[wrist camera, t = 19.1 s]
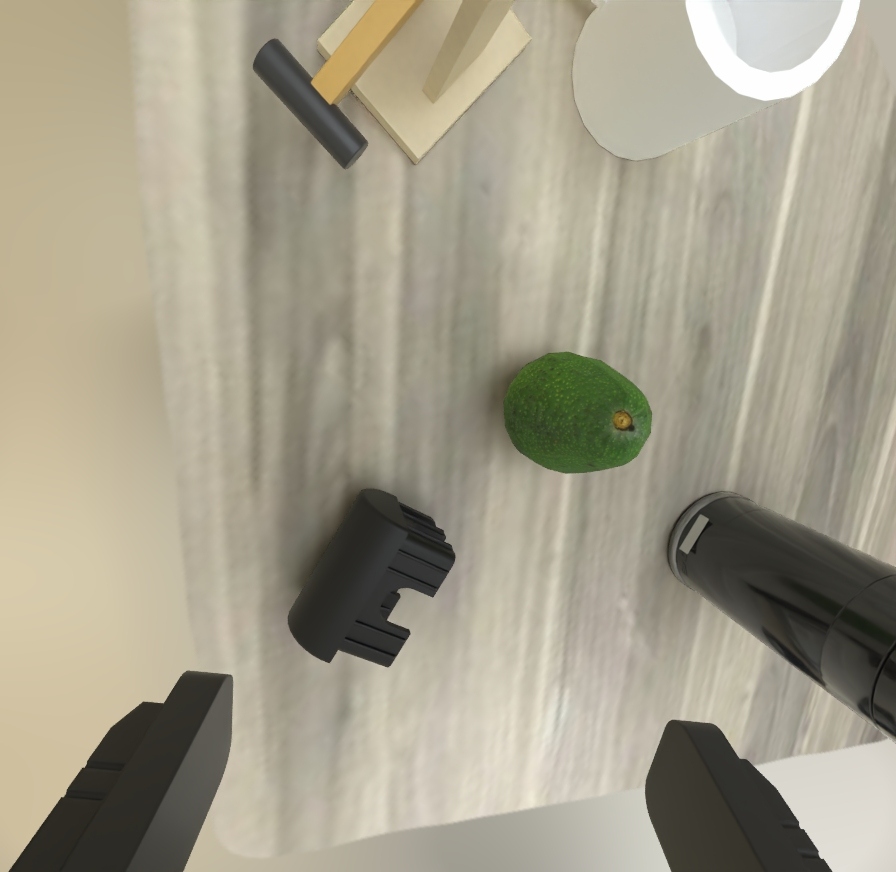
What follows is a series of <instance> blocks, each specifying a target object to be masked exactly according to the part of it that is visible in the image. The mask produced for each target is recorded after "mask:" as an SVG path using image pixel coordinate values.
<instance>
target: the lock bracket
mask: <svg viewBox="0 0 896 872" xmlns="http://www.w3.org/2000/svg"><path fill="white" fill-rule="evenodd" d="M374 1H375V0H354V1H353V2H352V3H351V4H350V5H349V6H348V7H347V8H346V10H345V11H344V12H343V13H342V14H341V15H340V16H339V17H338V18H337V19H336V20H335V21H334V23H333V24H332V25H331V26H330V27H329V28H328V29H327V30H326V31H325V32H324V33H323V34H322V35H321V37H320V38H319V39H318V51H319V52H320V54H321V55H322V56H323V57H324V58H325V59H326V61H327V60H328V59H329V58H330V57H331V55H332V54H333V53H334V52H335V50H336V49H337V48H338V47H339V45H340V44H341V43H342V42H343V40H344V39H345V38H346V37H347V35H348V34H349V33H350V32H351V30H352V29H353V28H354V27H355V25H356V24H357V23H358V22H359V20H360V19H361V18H362V16H363V15H364V14H365V13H366V11H367V10H368V9H369V8H370V6H371V5H372V4H373V3H374ZM514 1H515V0H423V2H422V3H421V4H420V5H419V7H418V8H417V9H416V10H415V11H414V13H413V14H412V15H411V16H410V17H409V19H408V20H407V21H406V22H405V24H404V25H403V26H402V27H401V28H400V30H399V31H398V32H397V33H396V34H395V36H394V37H393V38H392V39H391V41H390V42H389V43H388V44H387V45H386V47H385V48H384V49H383V50H382V51H381V53H380V54H379V55H378V56H377V57H376V59H375V60H374V61H373V62H372V64H371V65H370V66H369V67H368V68H367V70H366V71H365V72H364V73H363V74H362V76H361V77H360V78H359V79H358V81H357V82H356V83H355V84H354V85H353V87H352V88H351V90H352V91H353V92H354V93H355V95H356V96H357V97H358V98H359V99H360V100H361V102H362V103H363V104H364V105H365V106H366V107H367V109H368V110H369V111H370V112H371V113H372V114H373V116H374V117H375V118H376V119H377V120H378V121H379V123H380V124H381V125H382V126H383V127H384V128H385V130H386V131H387V132H388V133H389V134H390V136H391V137H392V138H393V139H394V140H395V141H396V143H397V144H398V145H399V146H400V147H401V148H402V150H403V151H404V152H405V153H406V154H407V155H408V157H409V158H410V159H411V160H412V161H413V162H414V164H417V163H418V162H419V161H420V160H421V159H422V158H423V157H424V156H425V155H426V153H427V152H428V151H429V150H430V149H431V148H432V147H433V146H434V145H435V144H436V143H437V142H438V141H439V140H440V138H441V137H442V136H443V135H444V134H445V133H446V132H447V131H448V130H449V129H450V128H451V127H452V126H453V125H454V123H455V122H456V121H457V120H458V119H459V118H460V117H461V116H462V115H463V114H464V113H465V112H466V111H467V110H468V108H469V107H470V106H471V105H472V104H473V103H474V102H475V101H476V100H477V99H478V98H479V97H480V96H481V95H482V94H483V92H484V91H485V90H486V89H487V88H488V87H489V86H490V85H491V84H492V83H493V82H494V81H495V80H496V79H497V77H498V76H499V75H500V74H501V73H502V72H503V71H504V70H505V69H506V68H507V67H508V66H509V65H510V64H511V62H512V61H513V60H514V59H515V58H516V57H517V56H518V55H519V54H520V53H521V52H522V51H523V50H524V49H525V47H526V46H527V45H528V43H529V42H530V41H531V37H530V36H529V34H528V33H527V31H526V30H525V29H524V27H523V26H522V24H521V23H520V21H519V20H518V18H517V17H516V15H515V14H514V13H513V11H512V10H511V6H512V4H513V3H514Z"/></svg>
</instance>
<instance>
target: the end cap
mask: <svg viewBox="0 0 896 872" xmlns="http://www.w3.org/2000/svg"><path fill="white" fill-rule="evenodd" d="M445 539H446V536H445V534H444V531H443V530H442V529H440V528H438V527H436V525H435V522H434V520H433V519H432V518H431V517H429V516H427V515H424V514H422V513H420V512H418V511H416V510H414V509H412V508H410V507H408V506H406V505H404V504H402V503H400V502H398V500H397V497H396V496H394V495H391V494H389V493H386V492H384V491H381V490H377V489H364V490H362V491H361V492H360V493H359V495H358V496H357V498H356V500H355V501H354V503H353V505H352V507H351V508H350V510H349V512H348V513H347V515H346V517H345V518H344V520H343V522H342V523H341V525H340V527H339V528H338V530H337V532H336V534H335V535H334V537H333V539H332V540H331V542H330V544H329V545H328V547H327V549H326V550H325V552H324V554H323V555H322V557H321V559H320V561H319V562H318V564H317V566H316V567H315V569H314V571H313V572H312V574H311V576H310V577H309V579H308V581H307V583H306V584H305V586H304V588H303V589H302V591H301V593H300V594H299V596H298V598H297V599H296V601H295V603H294V604H293V606H292V608H291V610H290V611H289V615H288V625H289V628H290V631H291V633H292V635H293V636H294V638H295V639H296V641H297V642H298V643H299V644H300V645H301V646H302V647H303V648H304V649H305V650H306V651H308V652H309V653H310V654H312V655H313V656H315V657H317V658H319V659H320V660H323V661H325V662H327V663H330V662H331V660H332V659H333V657H334V655H335V654H336V652H337V651H338V650H340V651H343V652H346V653H348V654H351V655H354V656H357V657H360V658H363V659H365V660H368V661H371V662H374V663H377V664H379V665H382V666H385V667H389V666H391V664H392V663H393V661H394V659H395V658H396V656H397V655H398V653H399V651H400V650H401V648H402V647H403V645H404V643H405V642H406V640H407V639H408V637H409V635H410V630H409V629H406V628H404V627H401V626H399V625H396V624H393V623H391V622H389V621H387V618H388V616H389V615H390V613H391V612H392V610H393V608H394V607H395V605H396V603H397V602H398V600H399V599H400V594H399V593H397V590H398V589H400V588H411V589H414V590H417V591H419V592H421V593H424V594H426V595H428V596H431V597H434V595H435V594H436V592H437V590H438V589H439V587H440V586H441V584H442V582H443V581H444V579H445V578H446V576H447V574H448V573H449V571H450V570H451V568H452V566H453V564H454V562H455V553H454V551H453V549H452V546H451V545H450V544H448V543H446V542H444V540H445Z"/></svg>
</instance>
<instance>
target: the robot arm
mask: <svg viewBox="0 0 896 872" xmlns="http://www.w3.org/2000/svg"><path fill="white" fill-rule="evenodd" d="M668 557H669V563H670V567H671V569H672V571H673V573H674V575H675V576H676V577H677V578H678V579H679V580H680V581H681V582H682V583H683V584H685V585H686V586H687V587H689V588H690V589H692V590H694V591H696V592H697V593H699V594H700V595H701V596H702V597H704V598H705V599H706V600H708V601H709V602H710V603H711V604H713V605H714V606H715V607H717V608H718V609H719V610H720V611H722V612H723V613H724V614H726V615H727V616H728V617H730V618H731V619H732V620H734V621H735V622H736V623H738V624H739V625H740V626H741V627H743V628H744V629H745V630H747V631H748V632H749V633H751V634H752V635H753V636H755V637H756V638H757V639H759V640H760V641H761V642H763V643H764V644H765V645H766V646H768V647H769V648H770V649H772V650H773V651H774V652H776V653H777V654H778V655H780V656H781V657H782V658H784V659H785V660H786V661H787V662H789V663H790V664H791V665H793V666H794V667H795V668H797V669H798V670H799V671H801V672H802V673H803V674H805V675H806V676H807V677H808V678H810V679H811V680H812V681H814V682H815V683H816V684H818V685H819V686H820V687H822V688H823V689H824V690H826V691H827V692H828V693H830V694H831V695H832V696H834V697H835V698H836V699H838V700H839V701H840V702H842V703H843V704H844V705H846V706H847V707H848V708H850V709H851V710H852V711H854V712H855V713H856V714H857V715H859V716H860V717H861V718H863V719H864V720H865V721H867V722H868V723H869V724H871V725H872V726H873V727H875V728H876V729H877V730H878V731H880V732H882V733H883V734H884V735H885V736H886V737H888V738H889V739H890V740H892V741H893V742H894V743H896V567H894V566H892V565H890V564H888V563H886V562H883V561H881V560H879V559H877V558H875V557H872V556H870V555H868V554H866V553H864V552H861V551H859V550H857V549H855V548H853V547H850V546H848V545H846V544H844V543H842V542H839V541H837V540H835V539H833V538H830V537H828V536H826V535H824V534H822V533H819V532H817V531H815V530H813V529H811V528H808V527H806V526H804V525H802V524H800V523H797V522H795V521H793V520H791V519H789V518H786V517H784V516H782V515H780V514H778V513H776V512H774V511H771V510H769V509H767V508H765V507H763V506H760V505H758V504H756V503H754V502H753V501H751V500H750V499H748V498H745V497H743V496H741V495H739V494H736V493H732V492H718V493H714V494H711V495H708V496H706V497H704V498H702V499H700V500H698V501H697V502H696V503H694V504H693V505H692V506H691V507H690V508H689V509H688V510H687V511H686V512H685V513H684V514H683V515H682V516H681V518H680V519H679V521H678V522H677V524H676V526H675V528H674V530H673V532H672V535H671V538H670V542H669V549H668ZM232 704H233V677H232V675H228V674H218V673H208V672H198V671H186V672H185V673H183V675H182V676H181V677H180V678H179V680H178V682H177V683H176V685H175V686H174V688H173V689H172V691H171V693H170V694H169V696H168V698H167V699H166V701H165V702H164V703H153V702H142V703H141V704H140V705H139V706H137V707H136V708H135V709H134V710H132V711H131V712H130V713H129V714H127V715H126V716H125V717H124V718H122V719H121V720H120V721H119V722H117V723H116V724H115V725H114V726H113V727H111V728H110V730H109V731H108V733H107V734H106V735H105V737H104V738H103V740H102V741H101V743H100V744H99V745H98V747H97V748H96V749H95V751H94V752H93V754H92V755H91V756H90V758H89V760H88V761H87V765H86V766H85V768H82V769H81V771H80V772H79V773H78V775H77V776H76V778H75V779H74V780H73V782H72V783H71V785H70V786H69V787H68V789H67V792H66V795H65V796H64V797H61V799H60V800H59V801H58V803H57V804H56V806H55V807H54V808H53V810H52V811H51V813H50V814H49V815H48V817H47V818H46V820H45V821H44V823H43V824H42V825H41V827H40V828H39V830H38V831H37V832H36V834H35V835H34V837H33V838H32V839H31V841H30V842H29V844H28V845H27V846H26V848H25V849H24V851H23V852H22V853H21V855H20V856H19V858H18V859H17V861H16V862H15V863H14V865H13V866H12V868H11V869H10V870H9V872H183V871H184V868H185V866H186V864H187V861H188V859H189V856H190V854H191V852H192V849H193V847H194V844H195V842H196V840H197V837H198V835H199V832H200V830H201V828H202V825H203V823H204V821H205V818H206V816H207V813H208V811H209V809H210V806H211V804H212V801H213V799H214V797H215V794H216V792H217V789H218V787H219V785H220V782H221V780H222V777H223V774H224V771H225V768H226V764H227V761H228V757H229V752H230V746H231V737H232ZM645 796H646V804H647V809H648V813H649V816H650V819H651V822H652V824H653V827H654V829H655V832H656V834H657V837H658V839H659V842H660V844H661V847H662V849H663V852H664V854H665V857H666V859H667V861H668V864H669V867H670V869H671V872H832V871H831V869H830V868H829V866H828V865H827V863H826V862H825V860H824V859H821V858H820V857H819V855H818V852H819V851H818V850H817V848H816V847H815V845H814V844H813V842H812V841H811V839H810V838H809V836H808V835H807V833H806V832H805V830H804V829H800V827H799V821H798V820H797V819H796V817H795V816H794V814H793V813H792V811H791V810H790V808H789V807H788V805H787V804H786V802H785V801H784V799H783V798H782V796H781V795H780V793H779V792H778V790H777V789H776V788H775V787H774V786H773V785H772V784H771V783H770V782H769V781H768V780H767V779H766V778H765V777H764V776H763V775H762V774H761V773H760V772H759V771H758V770H757V769H756V768H755V767H754V766H753V765H752V764H751V763H750V762H749V761H748V760H747V759H739V757H738V756H737V754H736V753H735V751H734V750H733V748H732V746H731V745H730V743H729V742H728V740H727V739H726V737H725V736H724V734H723V733H722V731H721V730H720V729H719V728H718V727H717V726H716V725H714V724H711V723H701V722H691V721H680V720H671V721H669V722H668V723H667V725H666V727H665V730H664V732H663V735H662V738H661V740H660V743H659V746H658V748H657V751H656V754H655V756H654V759H653V762H652V764H651V767H650V770H649V773H648V775H647V779H646V785H645Z"/></svg>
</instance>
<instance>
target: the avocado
mask: <svg viewBox="0 0 896 872" xmlns="http://www.w3.org/2000/svg"><path fill="white" fill-rule="evenodd" d="M504 416H505V427H506V429H507V431H508V434H509V436H510V438H511V440H512V443H513V444H514V446H515V447H516V449H517V450H518V451H519V452H520V453H522V454H523V455H525V456H526V457H528V458H530V459H531V460H533V461H534V462H536V463H538V464H540V465H541V466H543V467H545V468H547V469H550V470H554V471H558V472H562V473H565V474H566V473H585V472H593V471H600V470H605V469H609V468H614V467H618V466H622V465H624V464H627V463H628V462H630V461H631V460H632V459H634V458H635V457H636V456H638V454H639V452H640V450H641V449H642V447H643V445H644V444H645V442H646V440H647V438H648V437H649V435H650V433H651V420H652V411H651V409H650V406H649V404H648V401H647V399H646V397H645V396H644V394H643V393H642V392H641V391H640V390H639V389H638V388H637V387H636V386H635V385H634V384H633V383H632V382H631V381H629V380H628V379H627V378H625V377H624V376H623V375H621V374H620V373H618V372H617V371H616V370H614V369H613V368H611V367H610V366H608V365H607V364H605V363H604V362H602V361H601V360H596V359H591V358H587V357H583V356H579V355H576V354H573V353H570V352H561V353H549V354H547V355H545V356H543V357H541V358H539V359H537V360H535V361H533V362H530V363H528V364H527V365H526V366H525V367H523V368H522V370H521V371H520V372H519V373H518V374H517V376H516V377H515V379H514V380H513V381H512V383H511V384H510V386H509V389H508V391H507V394H506V397H505V400H504Z"/></svg>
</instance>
